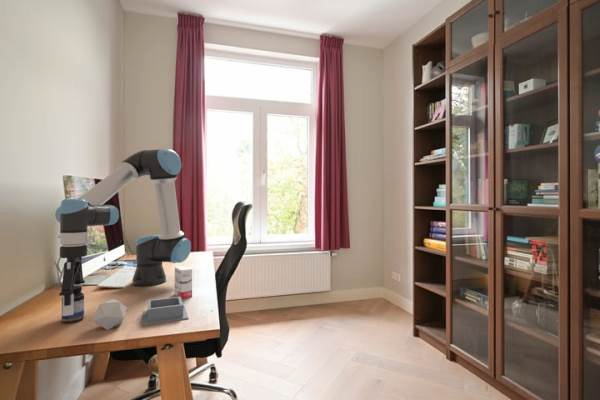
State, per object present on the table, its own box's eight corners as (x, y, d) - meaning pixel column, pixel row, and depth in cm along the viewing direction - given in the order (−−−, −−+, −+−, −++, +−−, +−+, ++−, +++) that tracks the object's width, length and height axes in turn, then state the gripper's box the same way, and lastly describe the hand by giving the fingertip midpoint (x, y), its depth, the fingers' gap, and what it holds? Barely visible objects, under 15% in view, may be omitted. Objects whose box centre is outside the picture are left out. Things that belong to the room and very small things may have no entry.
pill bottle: (60, 320, 107) (61, 287, 107) (82, 315, 111) (83, 284, 111) (62, 325, 102) (62, 290, 102) (85, 320, 106) (85, 287, 106)
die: (111, 321, 107) (91, 302, 102) (136, 308, 107) (116, 288, 103) (104, 340, 99) (81, 320, 95) (130, 326, 100) (109, 304, 95)
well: (143, 312, 114) (143, 299, 114) (184, 306, 120) (184, 294, 120) (142, 325, 102) (142, 311, 102) (188, 319, 108) (188, 305, 108)
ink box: (192, 296, 133) (192, 268, 134) (180, 299, 130) (180, 270, 130) (185, 292, 140) (185, 265, 140) (173, 294, 137) (174, 266, 137)
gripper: (68, 241, 116) (67, 300, 116) (49, 250, 94) (47, 323, 93) (93, 240, 119) (92, 297, 119) (79, 249, 97) (78, 319, 96)
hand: (72, 309), depth 106 cm, fingers open, 13 cm apart
